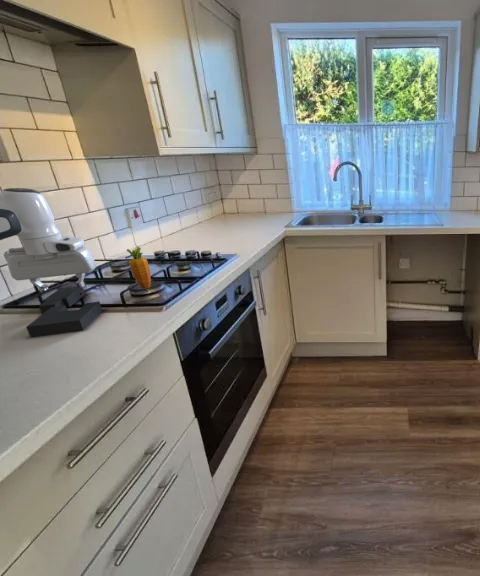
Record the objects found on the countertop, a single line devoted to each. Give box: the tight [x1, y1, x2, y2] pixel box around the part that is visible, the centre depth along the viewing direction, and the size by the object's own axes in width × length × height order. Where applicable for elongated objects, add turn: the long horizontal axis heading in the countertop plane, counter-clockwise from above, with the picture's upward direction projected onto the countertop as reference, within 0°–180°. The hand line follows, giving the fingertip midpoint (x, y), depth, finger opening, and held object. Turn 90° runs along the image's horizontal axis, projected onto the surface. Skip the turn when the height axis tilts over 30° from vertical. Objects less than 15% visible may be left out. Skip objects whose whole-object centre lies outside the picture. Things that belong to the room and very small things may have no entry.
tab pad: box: [38, 286, 86, 315], centre depth 109 cm, size 6×14×3 cm, turn 16°
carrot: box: [126, 246, 152, 292], centre depth 115 cm, size 5×5×15 cm
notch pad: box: [25, 301, 104, 338], centre depth 98 cm, size 12×12×3 cm
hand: (63, 289), depth 110 cm, fingers open, 8 cm apart
